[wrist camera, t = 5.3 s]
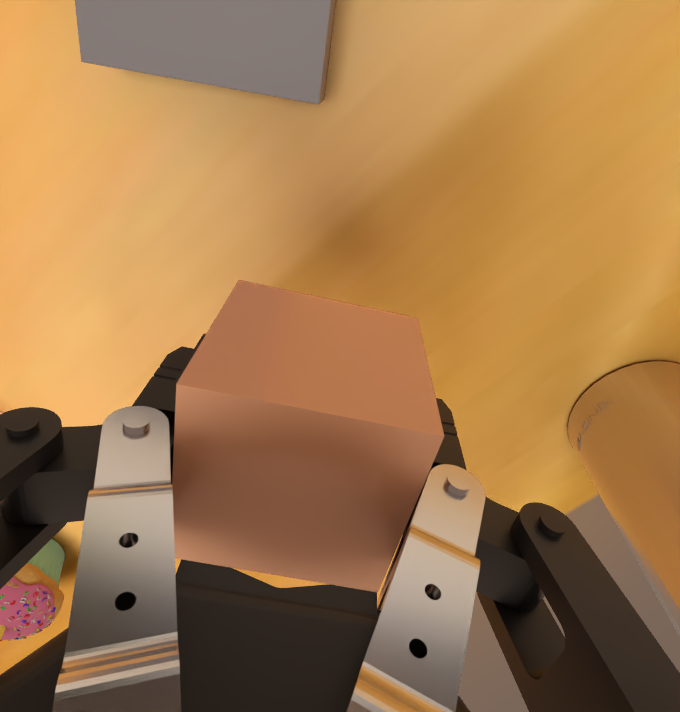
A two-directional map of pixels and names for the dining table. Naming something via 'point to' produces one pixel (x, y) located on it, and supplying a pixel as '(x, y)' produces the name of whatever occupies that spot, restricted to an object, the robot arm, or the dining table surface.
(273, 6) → the charcoal block
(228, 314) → the terracotta cube
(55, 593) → the cupcake
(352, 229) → the dining table surface
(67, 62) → the dining table surface
